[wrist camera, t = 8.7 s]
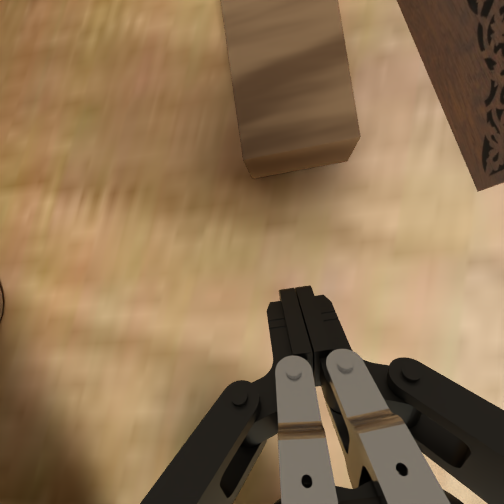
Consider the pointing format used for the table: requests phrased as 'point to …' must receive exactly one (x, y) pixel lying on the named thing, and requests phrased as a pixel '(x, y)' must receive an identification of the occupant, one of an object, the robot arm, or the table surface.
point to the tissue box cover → (466, 75)
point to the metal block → (290, 84)
